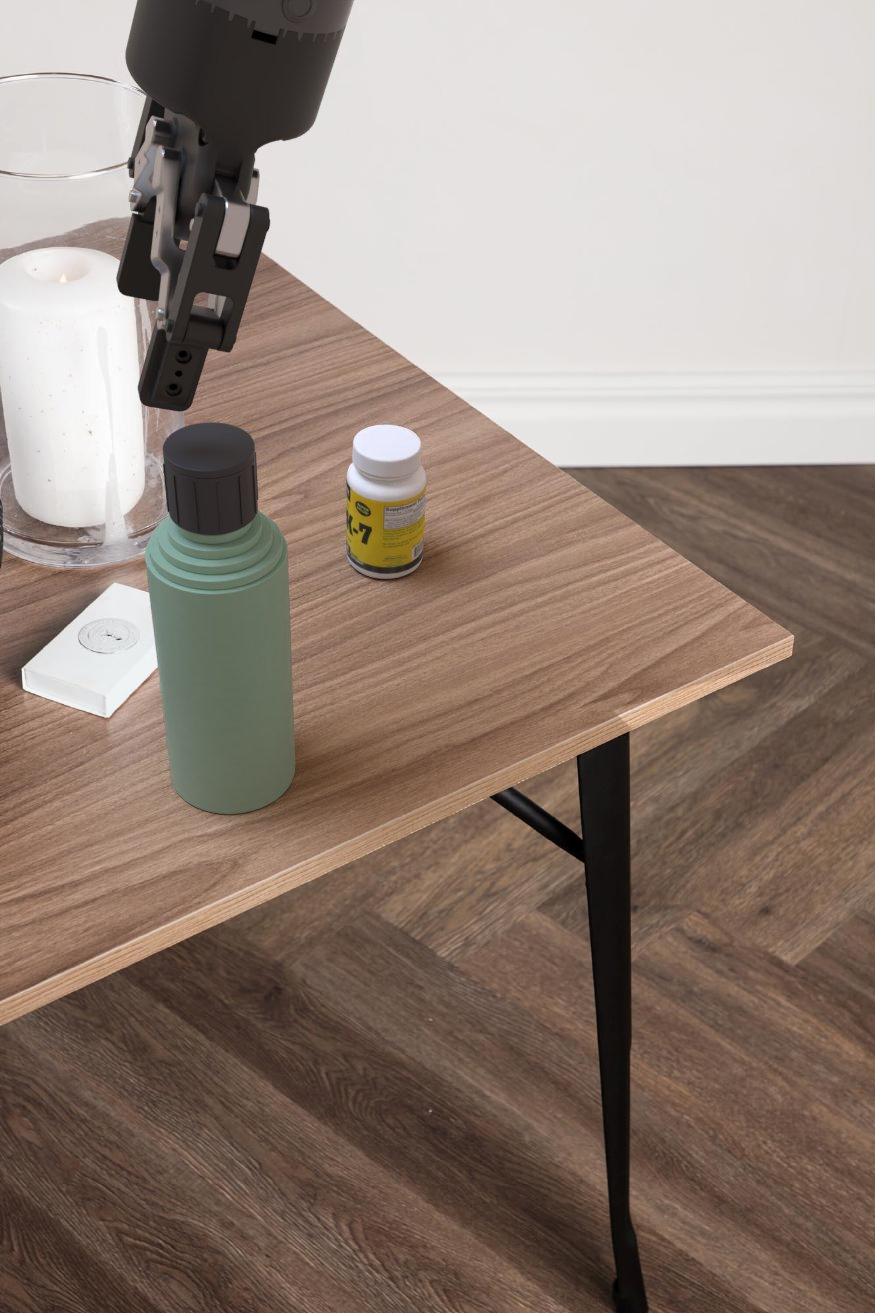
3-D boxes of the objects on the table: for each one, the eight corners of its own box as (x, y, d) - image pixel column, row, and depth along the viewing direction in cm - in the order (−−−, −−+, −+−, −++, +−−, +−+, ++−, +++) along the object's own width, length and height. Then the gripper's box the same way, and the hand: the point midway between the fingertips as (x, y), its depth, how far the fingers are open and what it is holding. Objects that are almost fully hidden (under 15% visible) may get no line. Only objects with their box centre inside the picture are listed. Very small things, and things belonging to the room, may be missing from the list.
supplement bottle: (334, 545, 88) (333, 428, 83) (403, 528, 90) (407, 413, 84) (364, 589, 85) (365, 470, 80) (435, 571, 87) (441, 454, 81)
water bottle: (202, 832, 70) (170, 513, 57) (150, 752, 74) (110, 439, 61) (317, 785, 72) (310, 472, 60) (261, 711, 76) (244, 403, 64)
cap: (191, 545, 61) (185, 480, 58) (154, 499, 63) (148, 435, 61) (273, 520, 62) (270, 455, 60) (234, 476, 65) (230, 413, 63)
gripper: (129, -123, 55) (50, 246, 65) (178, 26, 46) (77, 432, 55) (310, -65, 58) (209, 278, 68) (391, 86, 49) (259, 459, 59)
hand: (150, 347), depth 62 cm, fingers open, 8 cm apart
